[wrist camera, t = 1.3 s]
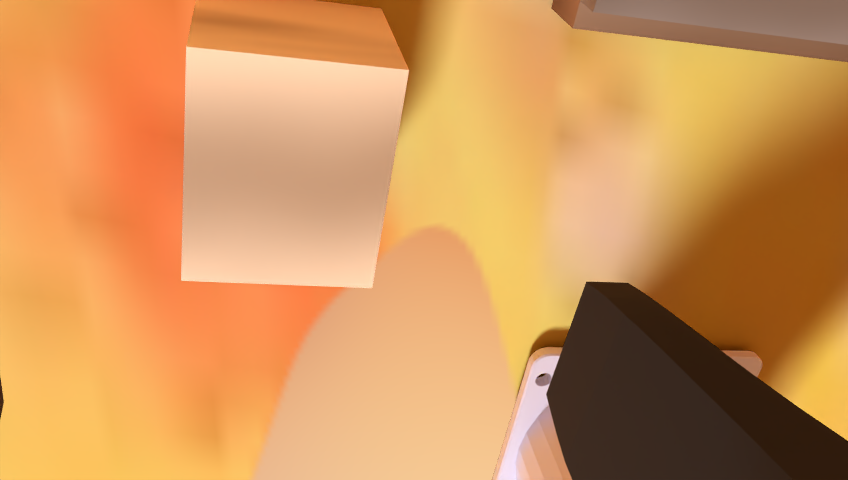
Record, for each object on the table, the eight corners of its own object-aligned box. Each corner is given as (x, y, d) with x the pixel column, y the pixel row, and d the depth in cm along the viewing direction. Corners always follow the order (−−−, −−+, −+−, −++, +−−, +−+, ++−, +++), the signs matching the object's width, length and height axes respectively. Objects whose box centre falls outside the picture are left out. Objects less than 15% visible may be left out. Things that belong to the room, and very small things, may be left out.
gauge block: (353, 198, 21) (372, 288, 18) (193, 187, 20) (181, 281, 17) (381, 7, 18) (409, 70, 15) (198, -16, 17) (186, 46, 14)
